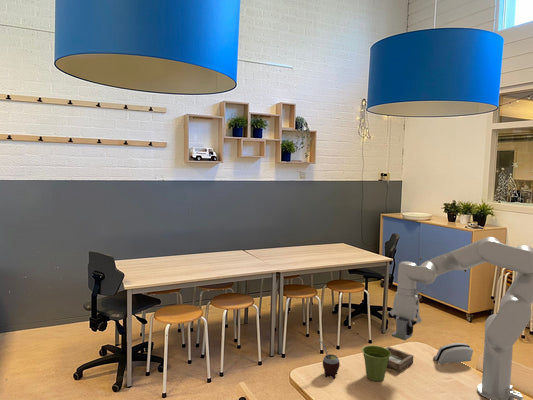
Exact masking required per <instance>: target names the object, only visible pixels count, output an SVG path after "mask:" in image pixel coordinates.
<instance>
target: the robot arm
mask: <svg viewBox="0 0 533 400" xmlns="http://www.w3.org/2000/svg"><path fill="white" fill-rule="evenodd" d="M485 263H488V264H490V265H493V266H496V267H499V268H503V269H506V270H511V271H513V272H516V275H515V278H514V279H513V281H512V282H511V284H510V286H509V287H508V289H507V291H506V292H505V293H504V295H503V296H502V297H501V300H500V301H499V310H498V311H497V313H493V314H491V315H489V316H488V317H487V318H486V320H485V322H484V323H485V324H484V339H483V340H484V342H483V343H484V344H483V360H482V378H481V379H482V380H481V383H479V384H478V385H477V388H476V389H477V392H479V393H478V394H479V395H480V394H481V395H482V397H483V396H484V397H486V398H488V399H491V400H523V399H524V396H523V395H522V392H520V391H517V390H514V389H513V386H514V385H511V382H512V381H511V380H512V365H513V363H512V362H513V351H514V350H513V348H514V347H513V346H514V345H515V344H516V342H517V341H518V339H519V338H520V336H521V335H522V333H523V332H524V330H525V329H526V327H527V326H528V324H529V322H530V320H531V318H532V309H531V306H532V304H533V247H532V246H530V245H527V244H526V245H525V244H524V245H518V246H517V247H515V246H512V245H509V244H505V243H502V242H501V241H500V240H499V239H498V238H496V237H494V236H487V237H484V238H481V239H479V240H477V241H474V242H472V243H469V244H467V245H464V246H462V247H459V248H456V249H454V250H451V251H449V252H447V253H442V254H440V255H438V256H436V257H433V258H431V259H428V260H426V261H423V262H422V263H421V264H420V265H417V263H416V262H412V261H400V262H399V264H398V267H397V268H398V271H397V272H398V273H397V289H396V292H395V294H394V299H393V303H392V308H391V310H390V311H389V314H390V315H391V316H392V318H393V319H394V320H395V324H396V328H397V319H399V318H400V317H403V318H406V319H408V321H409V326H408V334H407V335H411V334H412V335H413V333H414V326H415V325H416V324H418V323H419V324H420V323H421V322H423V321H422V318H421V315H420V299H419V294H420V290H417V289H418V288H417V285H418V284H419V283H420V284H423V285H431V284H433V283H434V282H435V280H436V279H437V277H439V276H441V275H444V274H447V273H449V272H452V271H453V272H454V271H466V270H469V269H472V268H475V267H477V266H479V265H482V264H485ZM417 283H418V284H417ZM481 395H480V396H481ZM484 397H483V398H484ZM486 398H485V399H486ZM488 399H487V400H488Z"/></svg>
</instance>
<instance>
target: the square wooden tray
mask: <svg viewBox="0 0 533 400" xmlns="http://www.w3.org/2000/svg"><path fill="white" fill-rule="evenodd" d="M385 348H386V349H388V350H389V351H390V352H391V356H390V357H389V360H388V363H387V368H386V369H390V370H392V371H394V372H397V373H401V372H403V371H404V370H406V369H407V368H409V366H411V365H412V364H414V355H413V354H410V353H407V352H405V351H403V350H400V349H397V348H394V347H391V346H386V347H385Z"/></svg>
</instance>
